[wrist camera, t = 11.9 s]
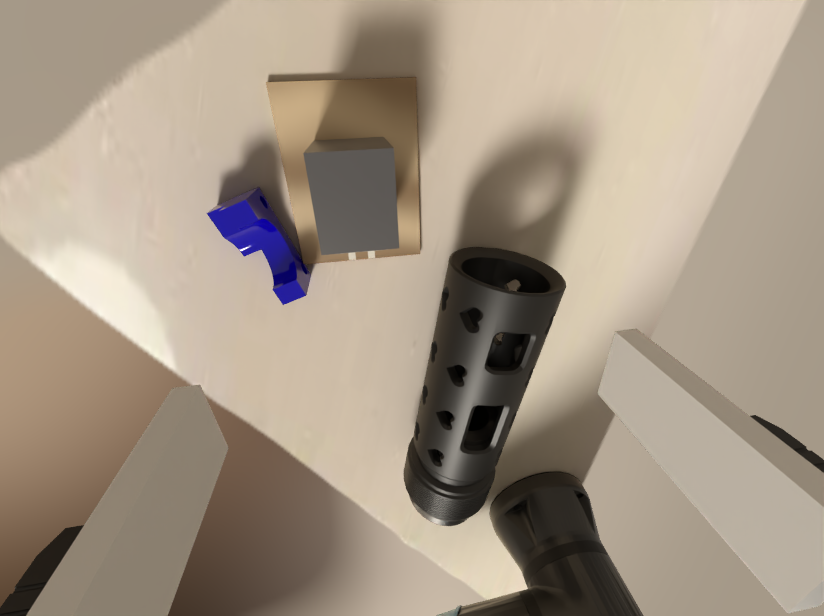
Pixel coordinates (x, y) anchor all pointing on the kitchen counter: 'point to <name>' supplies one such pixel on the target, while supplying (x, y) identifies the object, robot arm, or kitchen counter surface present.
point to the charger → (353, 195)
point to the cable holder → (263, 241)
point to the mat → (343, 119)
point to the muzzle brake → (477, 377)
